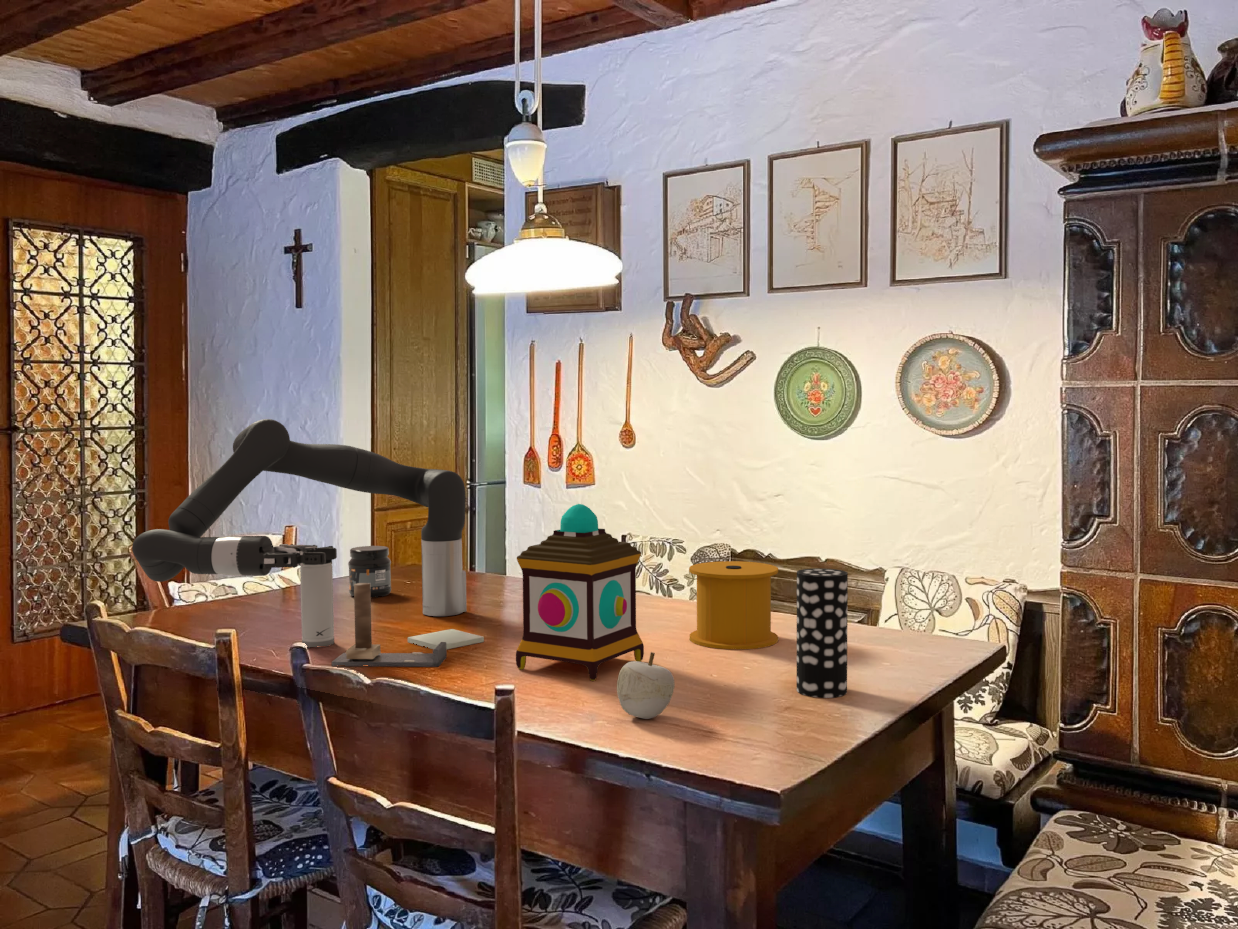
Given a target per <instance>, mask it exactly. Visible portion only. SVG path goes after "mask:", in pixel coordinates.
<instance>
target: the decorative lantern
mask: <svg viewBox="0 0 1238 929" xmlns="http://www.w3.org/2000/svg"><path fill="white" fill-rule="evenodd" d="M641 555H642V552H641V551H640V550H638V548H637V547H636V546H633V545H631V543H630V542H628V541H619V540H618V538H617V537H613V535H612V534H610V533H607V531H606V529H605V528H599V520H598V517H597V515H596V513H595V512H594V511H593V510H592V509H591V508H590V507H589V506H587V505H584V504H582V503H576V504H574V505H572V506H571V507H569V508H568V509H567V510H566V511H565V512H564V514H563V515H562V516H561V519H560V528H559V529H556V530H553V533H552V534H551V535H548V536H547V538H546V539H544V540H542V541H541V542H540V543H539V544H534V545H529V546H528V547H527V549H526V550H522V551H521V552H520V554H519V555H517V557H516V561H517V563H518V565H519V568H520V569H521V574H522V625H523V626H522V627H523V628H522V630H523V633H522V638H521V640H520V642H519V645H518V646H517V649H516V652H515V663H516V667H517V668H518V670H524V669H525V667H526V665H527V657H530V658H537V659H542V660H543V659H544V660H551V661H558V662H565V663H571V664H577V665H582V666H585V667H586V669H587V672H588V678H589V679H590V681H591V682H595V681H596V680H597V677H598V669H599V667H600V665H601V664H603V663H605V662H608V661H610V660H614V659H615V658H618V657H620V656H623V655H625V654H628V653H631V652H633V658H634V661H638V662H643V659H644V654H645V650H644V649H645V648H644V647H645V646H644V642H643V640H642V638H641V637H640V634H639V632H638V630H637V591H636V590H637V587H636V586H637V583H636V581H637V578H636V577H637V576H636V575H637V574H636V573H637V572H636V571H637V570H636V568H637V565H638V562H639V560H640V558H641Z"/></svg>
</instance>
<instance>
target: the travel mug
mask: <svg viewBox="0 0 1238 929" xmlns="http://www.w3.org/2000/svg"><path fill="white" fill-rule="evenodd" d="M319 548H334V546H333V545H329V546H321V547H319ZM307 552H311V550H307ZM299 568H300V569H299V572H300V573H299V575H300V576H299V577H300V580H299V581H300V610H301V611H300V614H301V616H300V618H301V620H300V621H301V644H302V643H305V644H306V645H307V646H308V647H307V648H310V647H317V646H326V647H329V645H330V646H332V645H334V643H335V626H334V624H335V623H334V620H335V619H334V616H335V615H334V585H333V584H334V582H333V581H334V579H333V560H326V563H325V564H323V565H303V566H299ZM331 644H332V645H331Z"/></svg>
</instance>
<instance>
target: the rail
mask: <svg viewBox="0 0 1238 929" xmlns="http://www.w3.org/2000/svg"><path fill="white" fill-rule="evenodd" d="M447 650H448V649H446V642H441V643H440V644H439V645H438V646H437V647H436V648H435V649H432V652H431V653H430V652H429V653H427V652H426V653H423V651H421V652H419V651H418V652H415V651H413V652H411V653H410V652H407V653H406V652H381V653H380V654H379V655H377V656H376V657H375V658H374V659H347V657H346V652H343V653H341V654H340V655H338V656H337V657H336V658H335V659H333V660H332V661H331V667H340V666H339V665H345V666H344V667H364V666H363V665H368V666H367V667H397V668H398V667H406V668H407V667H409V668H410V667H411V668H412V667H413V668H414V667H417V668H419V667H422V668H423V667H425V668H426V667H427V668H428V667H433V668H438V667H439V666H441V664H442V663H443V662H444V661H445V660H446V659H447V657H448V656H447V655H448V654H447ZM337 665H338V666H337Z"/></svg>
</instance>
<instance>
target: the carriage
mask: <svg viewBox="0 0 1238 929" xmlns="http://www.w3.org/2000/svg"><path fill="white" fill-rule="evenodd" d="M353 600H354V601H353V603H354V605H353V606H354V643H355V644H353V645H352V646H351V647H349V648H348V649H347V650H345V651H346V652H345V653H346V657H347V659H374V658H375V657H376V656H377V655H379V654H380V653H382V652H381V644H378V643H377V644H374V643H372V636H373V635H372V604H371V603H372V602H371V600H372V598H371V589H370V583H357V584H354V597H353Z"/></svg>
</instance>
